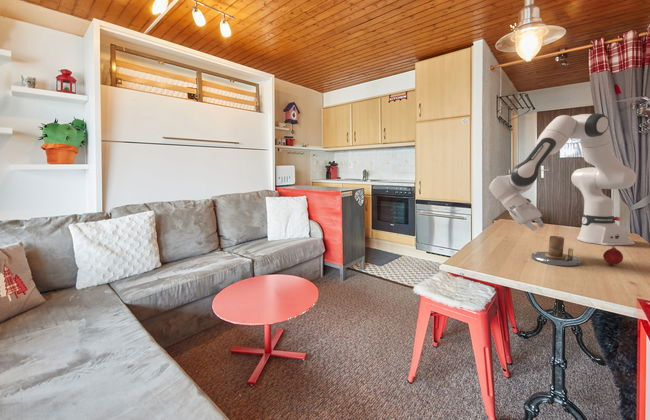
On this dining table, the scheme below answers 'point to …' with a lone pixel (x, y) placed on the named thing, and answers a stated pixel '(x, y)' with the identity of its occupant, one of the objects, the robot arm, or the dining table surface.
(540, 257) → the flange plate
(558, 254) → the bushing
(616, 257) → the onion
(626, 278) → the dining table surface
